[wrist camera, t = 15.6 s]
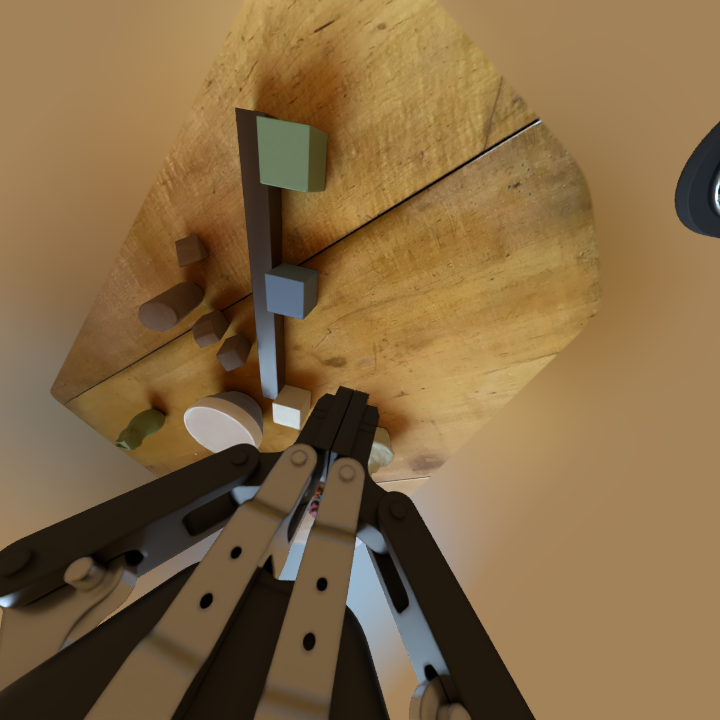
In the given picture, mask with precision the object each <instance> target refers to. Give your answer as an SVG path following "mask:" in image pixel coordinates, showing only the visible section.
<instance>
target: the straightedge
mask: <svg viewBox="0 0 720 720" xmlns="http://www.w3.org/2000/svg"><path fill="white" fill-rule="evenodd" d="M235 111H236V122H237V132H238V143H239V153H240V164H241V175H242V185H243V196H244V206H245V217H246V228H247V238H248V249H249V259H250V270H251V281H252V291H253V302H254V312H255V323H256V334H257V344H258V355H259V365H260V376H261V387H262V396H263V397H266V398H270V399H273V400H275V398H276V397H277V396H278V394H279V393H280V391H281V390H282V389H283V387H284V386H285V350H284V315H282V314H278V313H274V312H270V311H267V298H266V282H265V273H266V272H268V271H270V270H272V269H274V268H275V267H277V266H279V265H281V264H283V261H282V216H281V187H277V186H272V185H267V184H262V183H261V182H260V167H259V150H258V134H257V116H261V117H267V118H273V119H278V118H276V117H273V116H271V115H269V114H266V113H263V112H257V111H252V110H246V109H240V108H235Z"/></svg>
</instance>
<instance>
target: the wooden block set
mask: <svg viewBox="0 0 720 720" xmlns="http://www.w3.org/2000/svg"><path fill="white" fill-rule="evenodd" d="M175 243H176V249H177V255H178V262H179V267H183V266H186V265H188V264H191V263H194V262H196V261H199V260H202V259H204V258H206V257H208V256H209V254H208V253H207V251H206V249H205V248H204V246H203V244H202V243H201V241H200V239H199V237H198V236H197V234H194V235H191V236H189V237H186V238H183V239H181V240H178V241H176V242H175ZM202 300H203V292H202V290H201V289H200V288H199V287H198V286H197V285H195V284H193V283H190V282H182V283H179V284H177V285H175V286H174V287H172V288H170V289H169V290H167V291H165V292H163V293H162V294H160V295H158V296H156V297H155V298H153V299H151V300H150V301H148V302H146V303H144V304H143V305H142V306H141V307H140V308H139V312H138V316H139V319H140V321H141V323H142V324H143V325H144V326H146V327H147V328H149V329H151V330H155V331H167V330H170V329H172V328H174V327H175V326H176V325H177V324H178V323H179V322H180V321H181V320H183V319H184V318H185V317H186V316H187V315H188V314H189V313H190V312H192V311H193V310H194V309H195V308H196V307H197V306H198V305H199V304H200V303H201V302H202ZM228 327H229V324H228V322H227V321H226V319H225V318H224V316H223V315H222V313H221V311H220V310H217V311H214V312H211V313H209V314H206V315H203V316H202V317H201V318H200V319H199V320H198V321H197V322H196V323H195V324H194V325H193V326H192V329H193V334H194V339H195V341H196V342H197V344H198V345H199V346H200V347H201V348H203V347H206V346H208V345H211V344H214V343H216V342H219V341H220V340H221V338H222V337H223V335H224V334H225V332H226V331H227V329H228ZM250 350H251V346H250V344H249V342H248V341H247V339H246V338H245V336H244V334H243V333H240V334H238V335H235V336H232V337H230V338H227V339H226V340H225V342H224V343H223V345H222V347H221V348H220V350H219V352H218V353H217V355H216V357H217V359H218V360H219V361H220V363H221V364H222V365H223V367H224V368H225V370H226V371H230V370H232V369H235V368H238V367H240V366H243V365H245V363H246V361H247V358H248V355H249V353H250Z"/></svg>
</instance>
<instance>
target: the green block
mask: <svg viewBox="0 0 720 720" xmlns="http://www.w3.org/2000/svg"><path fill="white" fill-rule="evenodd" d="M257 134H258V150H259V167H260V182H261V183H262V184H267V185H272V186H277V187H282V188H287V189H292V190H297V191H302V192H307V193H309V192H320V191H324V189H325V172H326V156H327V139H328V134H327V133H325V132H323V131H321V130H319V129H317V128H315V127H313V126H311V125H307V124H301V123H296V122H290V121H284V120H279V119H273V118H267V117H261V116H257Z"/></svg>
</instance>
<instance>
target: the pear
mask: <svg viewBox="0 0 720 720" xmlns="http://www.w3.org/2000/svg"><path fill="white" fill-rule="evenodd" d="M164 423H165V417H164V415H163V414H162V413H161V412H160V411H158V410H155V409H149V410H145V411H143V412H141V413H139V414H138V415H136V416H135V417H134V418H133V419H132V420H131V421H130V423H129V425H128V426H127V428H126V429H124V430H123V431H122V432H121V433H120V434H119V436H118V437H117V440H116V442H115V443H116V445H115V446H119V447H120V448H121V449H122V450H129V449H130V450H134V449H136V448H138V447H140V445H141V444H142V440H143V439H144V438H146V437H148V436H150V435H152V434H154V433H155V432H157V431H158V430H159V429H161V428H162V426H163V425H164Z"/></svg>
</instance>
